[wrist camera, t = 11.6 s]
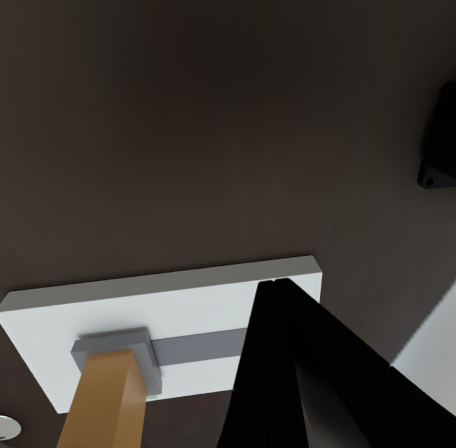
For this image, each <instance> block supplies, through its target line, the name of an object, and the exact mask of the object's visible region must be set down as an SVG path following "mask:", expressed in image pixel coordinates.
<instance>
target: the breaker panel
mask: <svg viewBox="0 0 456 448" xmlns="http://www.w3.org/2000/svg"><path fill="white" fill-rule="evenodd" d="M286 277H287V278H290V279H291V280H293V281H294V282H295V283H296V284H297V285H298V286H300V287H301V288H302V289H303V290H304V291H305V292H307V293H308V294H309V295H310V296H311V297H312V298H314V299H315V300H316V301H317V302H318V303H319V299H320V289H321V279H322V271H321V269H320V267H319V266H318V264H317V262H316V260H315V259H314V257H313V255H310V256H302V257H293V258H285V259H277V260H269V261H261V262H252V263H244V264H236V265H228V266H219V267H211V268H203V269H195V270H186V271H178V272H170V273H162V274H153V275H145V276H137V277H129V278H121V279H112V280H104V281H96V282H88V283H79V284H71V285H63V286H55V287H46V288H38V289H30V290H22V291H13V292H9V293H8V294H7V296H6V297H5V298H4V300H3V301H2V302H1V304H0V324H1V325H2V327H3V328H4V330H5V331H6V333H7V334H8V336H9V338H10V339H11V341H12V342H13V344H14V345H15V347H16V348H17V350H18V352H19V353H20V355H21V356H22V358H23V359H24V361H25V362H26V364H27V366H28V367H29V369H30V370H31V372H32V373H33V375H34V376H35V378H36V380H37V381H38V383H39V384H40V386H41V387H42V389H43V390H44V392H45V394H46V395H47V397H48V398H49V400H50V401H51V403H52V404H53V406H54V408H55V409H56V411H57V412H58V414H59V413H66V412H69V409H70V406H71V404H72V401H73V398H74V395H75V392H76V389H77V386H78V383H79V380H80V377H81V372H80V370H79V368H78V367H77V365H76V363H75V361H74V359H73V357H72V355H71V353H70V352H71V350H72V347H73V345H74V342H75V340H82V339H89V338H97V337H105V336H113V335H120V334H128V333H136V332H144V331H147V332H148V336H149V339H150V342H151V345H152V349H153V352H154V355H155V359H156V362H157V365H158V368H159V372H160V375H161V378H162V382H163V384H162V394H159V395H152V396H147V398H146V401H152V400H159V399H166V398H173V397H180V396H188V395H195V394H202V393H209V392H216V391H223V390H230V389H233V384H234V380H235V376H236V372H237V368H238V364H239V360H240V355H241V351H242V347H243V343H244V339H245V335H246V331H247V326H248V322H249V318H250V314H251V310H252V306H253V302H254V297H255V293H256V289H257V285H258V283H259V282H260V281H266V280H273V281H274V280H275V279H279V278H286Z"/></svg>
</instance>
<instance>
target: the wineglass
mask: <svg viewBox="0 0 456 448" xmlns="http://www.w3.org/2000/svg"><path fill="white" fill-rule="evenodd" d="M21 429H22V428H21V425H20V423H19V422H18V421H16V420H15V419H13V418H11V417H8V416H5V415H0V440H7V439H11V438H14V437H16V436H17V435H18V434H19V433H20V432H21Z"/></svg>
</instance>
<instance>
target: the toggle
mask: <svg viewBox="0 0 456 448" xmlns="http://www.w3.org/2000/svg"><path fill="white" fill-rule="evenodd" d="M70 353H71V355H72V357H73V359H74V361H75V363H76V365H77V367H78V368H79V370H80V372H81V377H80V380H79V383H78V386H77V389H76V392H75V395H74V398H73V401H72V404H71V406H70V409H69V412H68V415H67V418H66V421H65V424H64V427H63V430H62V433H61V436H60V439H59V442H58V445H57V448H140V444H141V436H142V429H143V421H144V413H145V406H146V398H147V396H152V395H159V394H162V384H163V382H162V378H161V375H160V372H159V368H158V365H157V362H156V359H155V355H154V352H153V349H152V345H151V342H150V339H149V336H148V332H147V331H144V332H136V333H128V334H120V335H113V336H105V337H97V338H89V339H82V340H75V342H74V345H73V347H72V350H71V352H70Z"/></svg>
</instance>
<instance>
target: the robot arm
mask: <svg viewBox="0 0 456 448" xmlns="http://www.w3.org/2000/svg"><path fill="white" fill-rule="evenodd" d="M453 87H454V91H453V93H452V94H451V95H450V91H451V89H452V88H453ZM428 179H430V180H429V181H428V182H427V180H428ZM426 182H427V183H426ZM418 184H419V185H420V186H421V187H423V188H424V189H434V188H443V187H452V186H456V81H450V82H448V83H447V84H445V85H444V87H443V88H442V90H441V94H440V98H439V102H438V106H437V110H436V114H435V118H434V122H433V125H432V129H431V133H430V137H429V141H428V145H427V149H426V153H425V156H424V161H423V165H422V169H421V173H420V177H419V181H418ZM300 397H301V398H300ZM301 399H302V402H303V405H304V408H305V410H306V413H307V416H308V419H309V422H310V424H311V427H312V430H313V433H314V435H315V438H316V441H317V444H318V446H319V448H456V416H455V415H453V414H452V413H451V412H449V411H448V410H447V409H445V408H444V407H443V406H441V405H440V404H438V403H437V402H436V401H435V400H433V399H432V398H431V397H430V396H428V395H427V394H426V393H425V392H423V391H422V390H421V389H420V388H418V387H417V386H416V385H415V384H413V383H412V382H411V381H410V380H408V379H407V378H406V377H405V376H404V375H403V374H402V373H400V372H399V371H398V370H397V369H396V368H394V367H393V366H391V367H390V363H389V362H387V361H386V360H385V359H384V358H383V357H382V356H380V355H379V354H378V353H377V352H376V351H375V350H373V349H372V348H371V347H370V346H369V345H367V344H366V343H365V342H364V341H363V340H362V339H360V338H359V337H358V336H357V335H356V334H355V333H353V332H352V331H351V330H350V329H349V328H348V327H346V326H345V325H344V324H343V323H342V322H341V321H339V320H338V319H337V318H336V317H335V316H334V315H332V314H331V313H330V312H329V311H328V310H326V309H325V308H324V307H323V306H322V305H321V304H319V303H318V302H317V301H316V300H315V299H314V298H312V297H311V296H310V295H309V294H308V293H307V292H305V291H304V290H303V289H302V288H301V287H300V286H298V285H297V284H296V283H295V282H294V281H293V280H291V279H290V278H287V277H286V278H279V279H275V280H274V281H273V280H266V281H260V282H259V283H258V285H257V289H256V293H255V297H254V302H253V306H252V310H251V314H250V318H249V322H248V326H247V331H246V335H245V339H244V343H243V347H242V351H241V355H240V360H239V364H238V368H237V372H236V376H235V380H234V384H233V391H232V392H231V396H230V400H229V404H228V408H227V412H226V415H225V419H224V423H223V426H222V430H221V433H220V436H219V439H218V442H217V445H216V448H309V445H308V439H307V433H306V427H305V422H304V416H303V410H302V404H301Z"/></svg>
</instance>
